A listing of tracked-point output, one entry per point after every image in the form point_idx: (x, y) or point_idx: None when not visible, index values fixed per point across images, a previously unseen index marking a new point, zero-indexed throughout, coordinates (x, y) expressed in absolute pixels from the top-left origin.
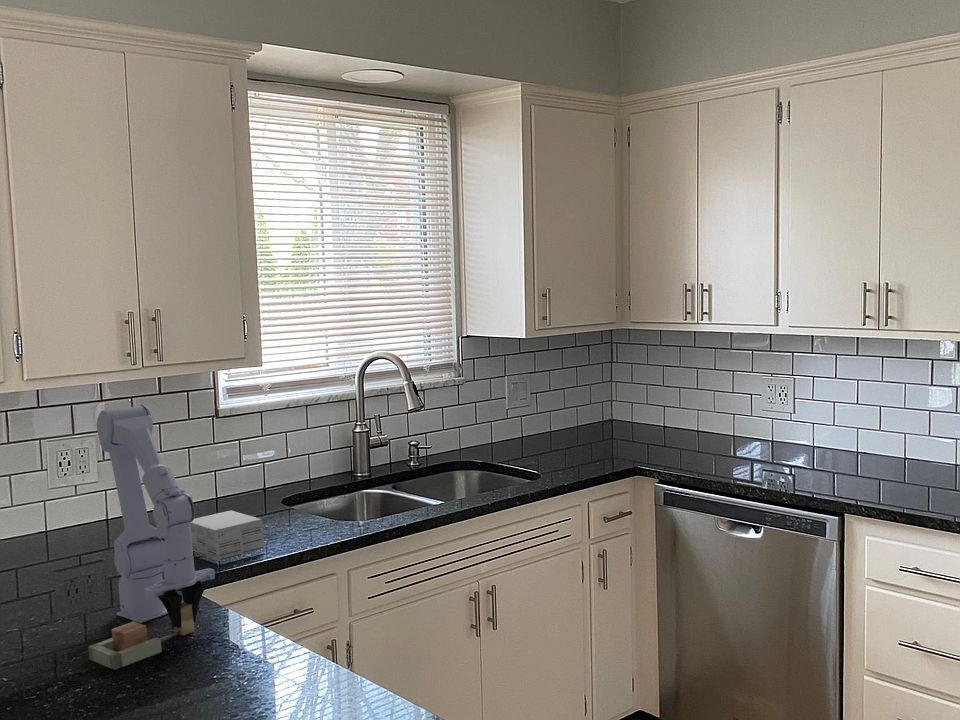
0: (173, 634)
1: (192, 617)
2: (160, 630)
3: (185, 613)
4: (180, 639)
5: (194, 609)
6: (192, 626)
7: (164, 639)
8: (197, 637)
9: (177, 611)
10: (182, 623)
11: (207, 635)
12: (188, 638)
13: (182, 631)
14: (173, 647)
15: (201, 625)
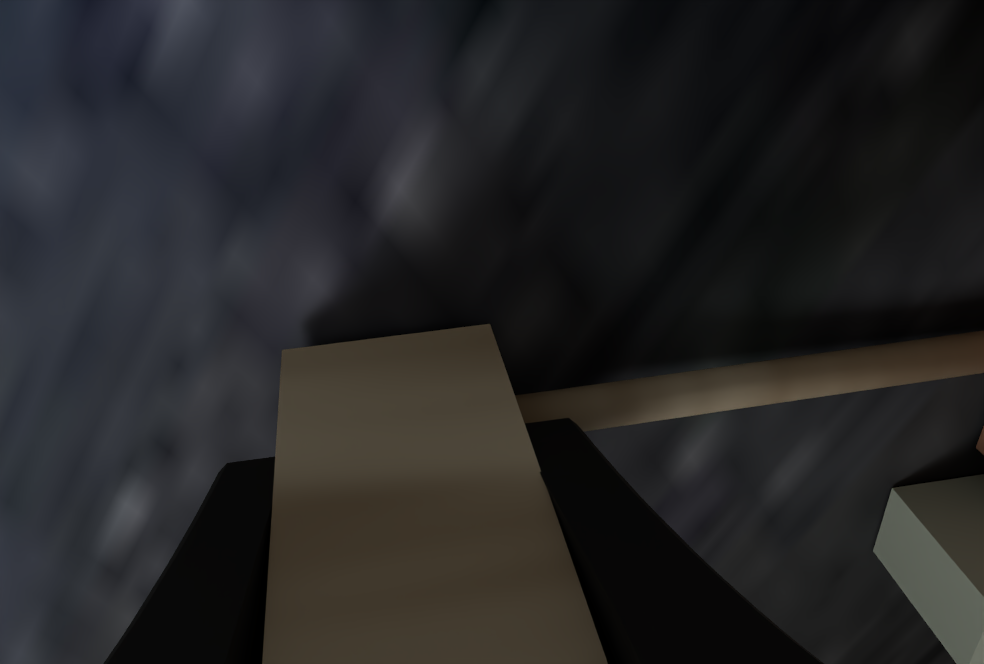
0: (605, 398)
1: (284, 512)
2: None
3: (452, 597)
4: (568, 253)
5: (212, 636)
6: (308, 397)
7: (740, 366)
8: (355, 103)
9: (728, 640)
10: (513, 449)
11: (176, 32)
12: (474, 190)
13: (502, 362)
14: (834, 33)
15: (83, 498)
